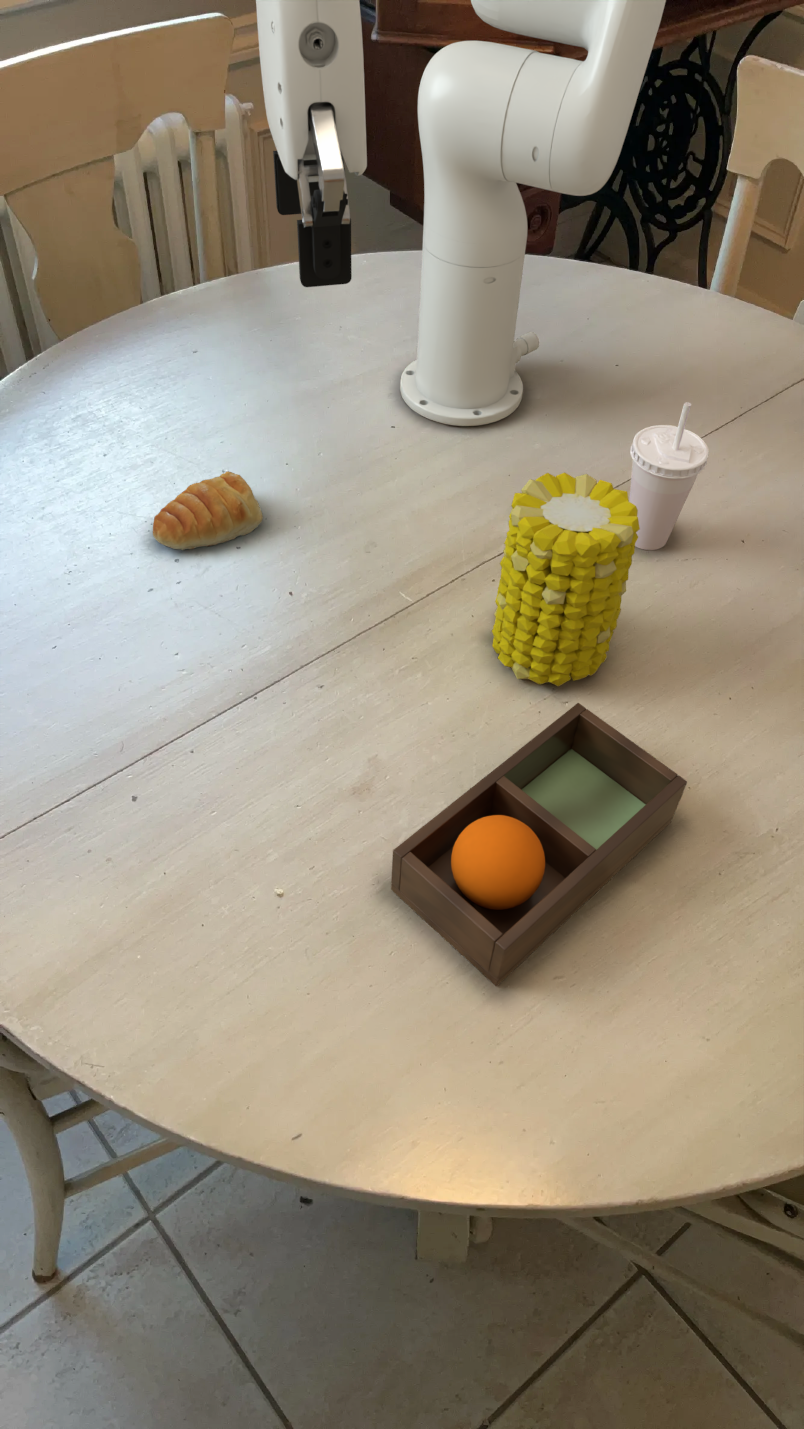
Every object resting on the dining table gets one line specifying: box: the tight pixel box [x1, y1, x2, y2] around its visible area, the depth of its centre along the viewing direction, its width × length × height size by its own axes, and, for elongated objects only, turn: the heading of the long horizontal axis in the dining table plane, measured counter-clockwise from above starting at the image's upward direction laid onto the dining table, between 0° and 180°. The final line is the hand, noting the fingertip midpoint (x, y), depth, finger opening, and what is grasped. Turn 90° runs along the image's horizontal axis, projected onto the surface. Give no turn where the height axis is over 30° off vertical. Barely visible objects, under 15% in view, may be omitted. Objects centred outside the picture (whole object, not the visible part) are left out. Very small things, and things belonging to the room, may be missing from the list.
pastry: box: [152, 470, 264, 551], centre depth 92 cm, size 9×7×4 cm
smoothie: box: [628, 401, 710, 551], centre depth 89 cm, size 6×6×14 cm
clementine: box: [451, 815, 545, 910], centre depth 67 cm, size 6×6×6 cm
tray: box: [390, 702, 688, 987], centre depth 70 cm, size 10×18×5 cm, turn 134°
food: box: [491, 472, 640, 687], centre depth 80 cm, size 15×12×10 cm
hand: (312, 245), depth 69 cm, fingers open, 9 cm apart
